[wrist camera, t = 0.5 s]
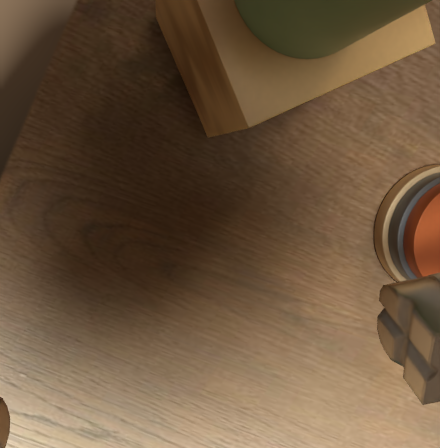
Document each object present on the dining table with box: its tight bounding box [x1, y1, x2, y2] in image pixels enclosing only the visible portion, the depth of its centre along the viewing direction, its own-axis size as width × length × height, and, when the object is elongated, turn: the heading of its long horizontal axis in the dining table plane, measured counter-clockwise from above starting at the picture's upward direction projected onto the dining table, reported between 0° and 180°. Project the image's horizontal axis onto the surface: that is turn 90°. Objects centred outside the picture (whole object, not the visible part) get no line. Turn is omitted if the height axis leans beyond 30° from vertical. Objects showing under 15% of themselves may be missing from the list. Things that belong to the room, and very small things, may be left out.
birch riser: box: [156, 0, 435, 137], centre depth 20 cm, size 8×8×12 cm
